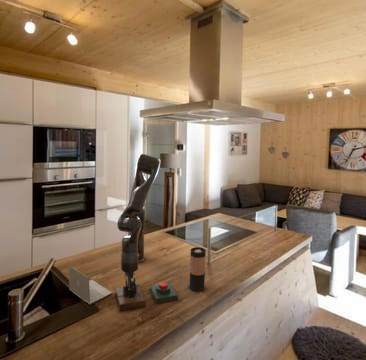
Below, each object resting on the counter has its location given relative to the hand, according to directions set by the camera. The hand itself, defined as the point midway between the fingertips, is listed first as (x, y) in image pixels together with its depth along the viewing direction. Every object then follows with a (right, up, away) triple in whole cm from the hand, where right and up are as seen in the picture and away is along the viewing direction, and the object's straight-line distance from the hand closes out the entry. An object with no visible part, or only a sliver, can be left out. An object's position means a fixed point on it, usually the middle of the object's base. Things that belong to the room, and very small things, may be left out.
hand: (129, 292), depth 129 cm
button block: (+15, -3, +6) cm, 16 cm away
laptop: (-20, -2, +6) cm, 21 cm away
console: (0, -4, +1) cm, 4 cm away
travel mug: (+32, -3, +12) cm, 34 cm away
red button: (+15, 0, +5) cm, 16 cm away
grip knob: (0, -1, 0) cm, 1 cm away
